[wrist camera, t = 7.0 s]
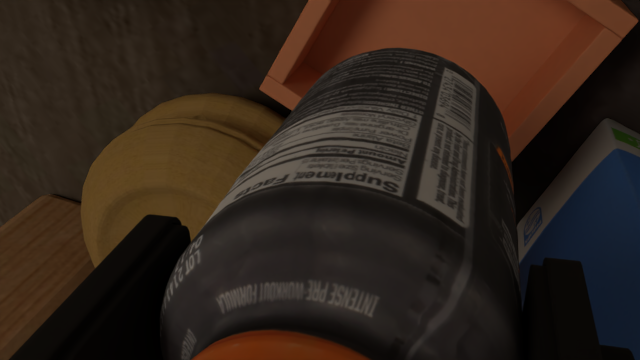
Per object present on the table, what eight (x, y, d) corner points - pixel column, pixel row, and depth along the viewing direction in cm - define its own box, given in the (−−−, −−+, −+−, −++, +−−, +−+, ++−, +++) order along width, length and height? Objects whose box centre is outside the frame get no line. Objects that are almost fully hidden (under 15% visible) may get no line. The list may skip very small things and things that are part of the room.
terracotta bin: (405, -149, 25) (392, -150, 21) (619, -2, 25) (639, 20, 22) (284, 62, 30) (258, 89, 27) (463, 179, 31) (459, 220, 27)
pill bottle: (463, 266, 18) (428, 737, 9) (277, 200, 19) (45, 572, 9) (549, 84, 15) (646, 495, 5) (323, 11, 16) (49, 270, 6)
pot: (167, 252, 38) (72, 370, 29) (132, 66, 32) (3, 144, 24) (355, 272, 35) (312, 409, 26) (351, 73, 30) (294, 164, 21)
